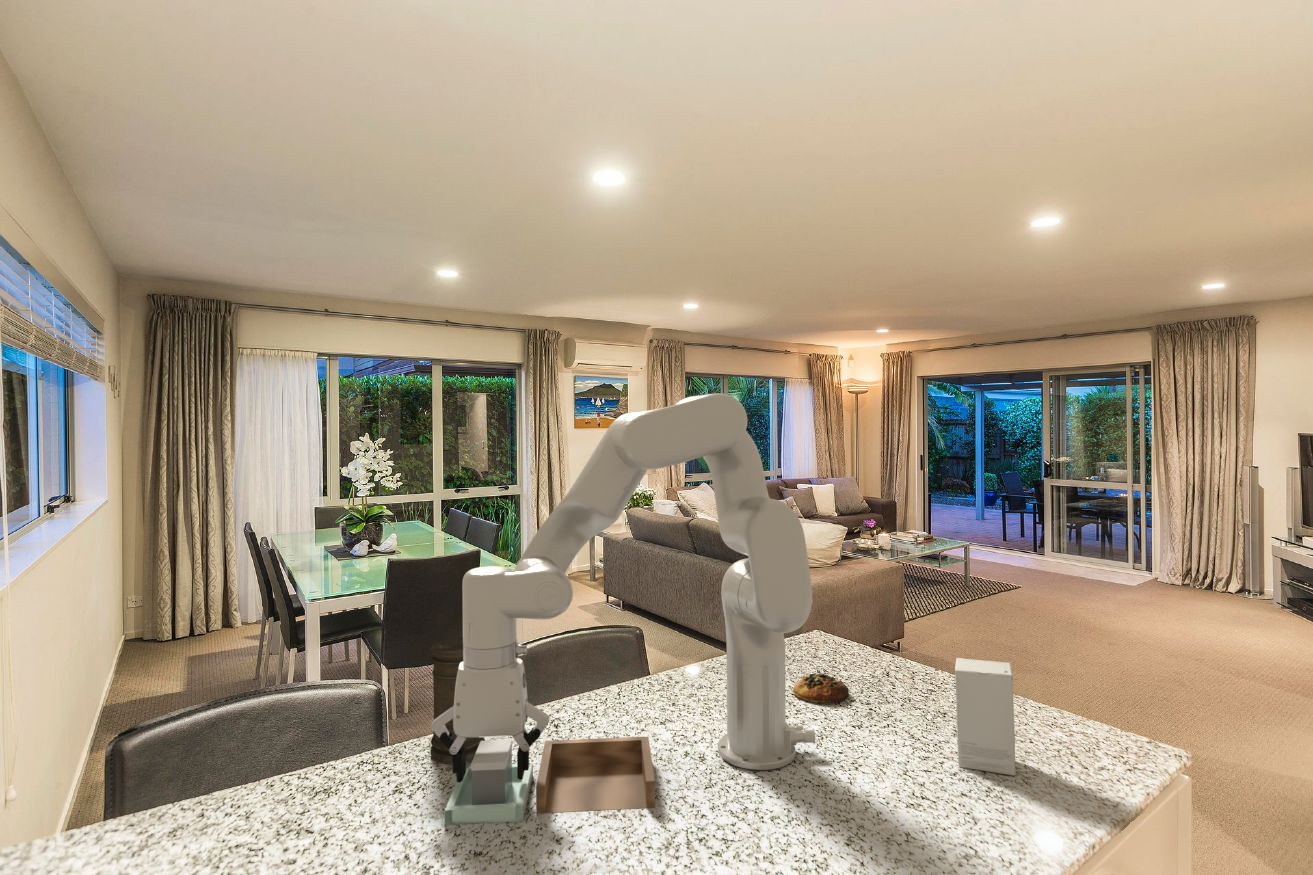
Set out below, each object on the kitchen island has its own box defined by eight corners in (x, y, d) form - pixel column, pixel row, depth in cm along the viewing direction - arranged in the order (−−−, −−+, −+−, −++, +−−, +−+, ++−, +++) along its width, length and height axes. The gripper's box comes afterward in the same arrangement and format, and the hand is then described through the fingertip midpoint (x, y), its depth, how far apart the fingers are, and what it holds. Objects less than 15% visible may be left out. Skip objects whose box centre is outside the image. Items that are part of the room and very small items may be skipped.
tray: (532, 777, 105) (532, 762, 105) (523, 822, 93) (522, 806, 93) (463, 780, 104) (463, 765, 104) (444, 826, 92) (444, 810, 92)
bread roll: (856, 704, 132) (852, 678, 132) (799, 712, 132) (795, 686, 133) (842, 686, 143) (838, 662, 143) (789, 693, 143) (785, 669, 144)
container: (471, 767, 109) (470, 653, 109) (419, 762, 111) (418, 650, 110) (495, 742, 118) (494, 636, 117) (447, 737, 119) (446, 634, 119)
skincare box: (1014, 759, 110) (1013, 662, 109) (1016, 778, 104) (1015, 675, 103) (956, 750, 113) (955, 655, 113) (955, 767, 107) (954, 668, 107)
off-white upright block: (512, 782, 102) (512, 739, 102) (505, 808, 95) (505, 761, 95) (481, 784, 102) (480, 740, 102) (471, 810, 95) (471, 763, 95)
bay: (648, 761, 110) (648, 736, 110) (654, 809, 96) (654, 780, 96) (545, 765, 109) (545, 740, 109) (536, 815, 95) (536, 786, 95)
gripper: (553, 644, 103) (554, 761, 103) (434, 648, 102) (435, 766, 102) (549, 660, 96) (550, 786, 96) (421, 665, 94) (422, 792, 94)
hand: (491, 775), depth 99 cm, fingers open, 8 cm apart
